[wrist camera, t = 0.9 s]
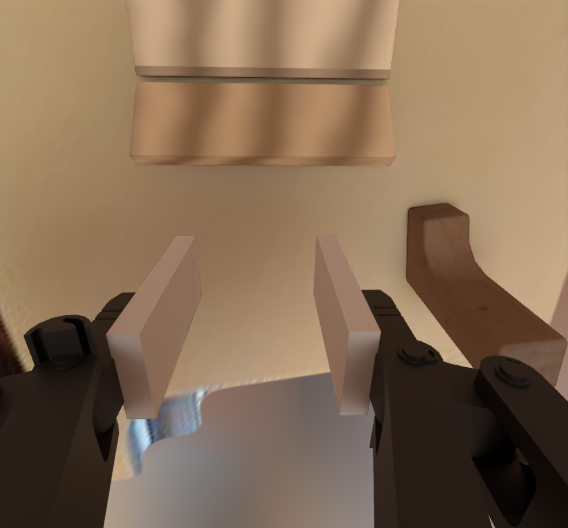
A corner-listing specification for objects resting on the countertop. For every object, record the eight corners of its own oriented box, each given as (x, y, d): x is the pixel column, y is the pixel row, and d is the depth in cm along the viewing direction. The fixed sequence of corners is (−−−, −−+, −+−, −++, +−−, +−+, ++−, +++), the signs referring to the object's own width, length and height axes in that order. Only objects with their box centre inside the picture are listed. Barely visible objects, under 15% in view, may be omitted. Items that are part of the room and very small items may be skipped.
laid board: (142, 76, 31) (136, 75, 30) (129, -14, 28) (122, -20, 27) (384, 79, 32) (389, 78, 30) (394, -8, 29) (400, -14, 28)
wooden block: (407, 207, 37) (513, 289, 21) (449, 202, 37) (589, 279, 21) (405, 280, 41) (493, 398, 25) (443, 276, 41) (557, 391, 25)
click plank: (136, 164, 30) (129, 155, 28) (143, 94, 31) (136, 81, 30) (389, 165, 30) (395, 156, 29) (383, 97, 32) (388, 85, 31)
